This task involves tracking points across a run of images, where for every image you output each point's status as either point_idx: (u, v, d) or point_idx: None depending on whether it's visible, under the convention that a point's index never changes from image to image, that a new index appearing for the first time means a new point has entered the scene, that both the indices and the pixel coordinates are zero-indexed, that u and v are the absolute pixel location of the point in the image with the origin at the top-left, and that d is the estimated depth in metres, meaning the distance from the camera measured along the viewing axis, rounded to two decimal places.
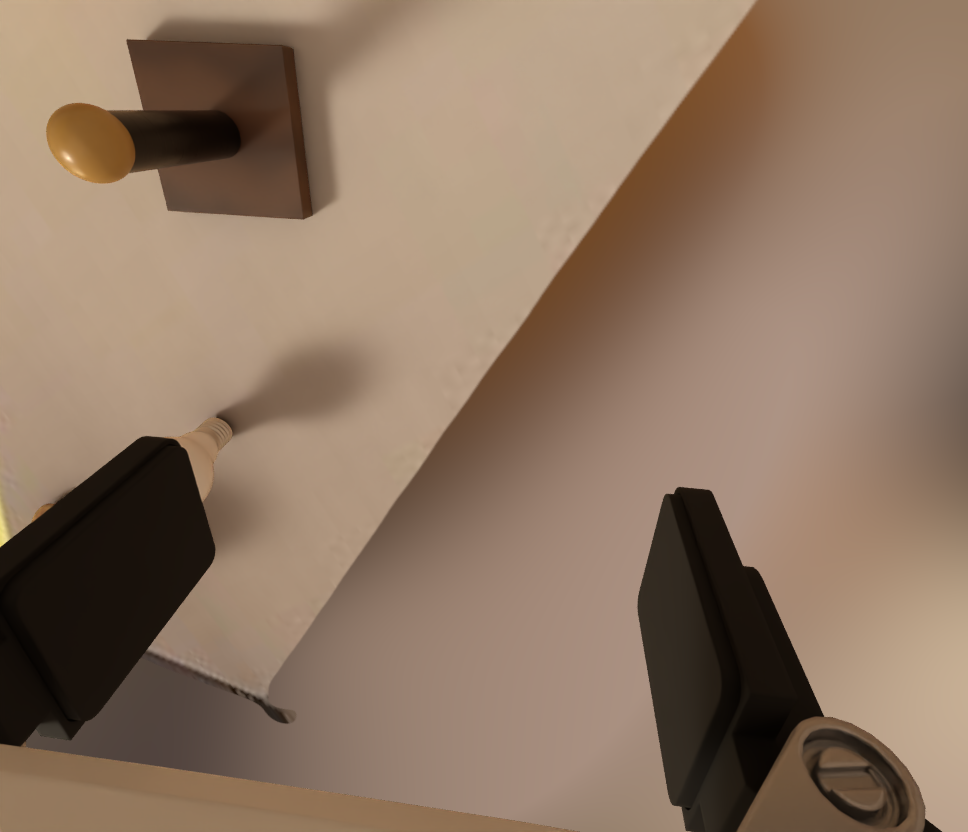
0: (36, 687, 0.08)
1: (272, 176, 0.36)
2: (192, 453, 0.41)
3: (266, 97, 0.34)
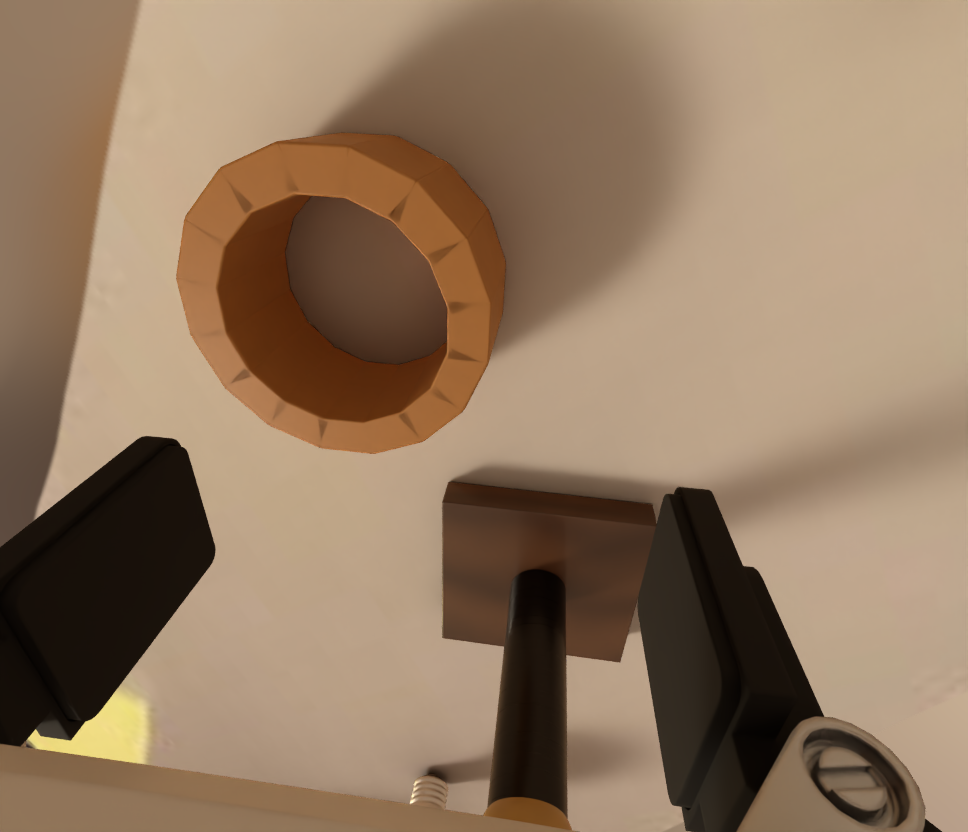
0: (37, 687, 0.08)
1: (594, 626, 0.28)
2: None
3: (615, 565, 0.26)
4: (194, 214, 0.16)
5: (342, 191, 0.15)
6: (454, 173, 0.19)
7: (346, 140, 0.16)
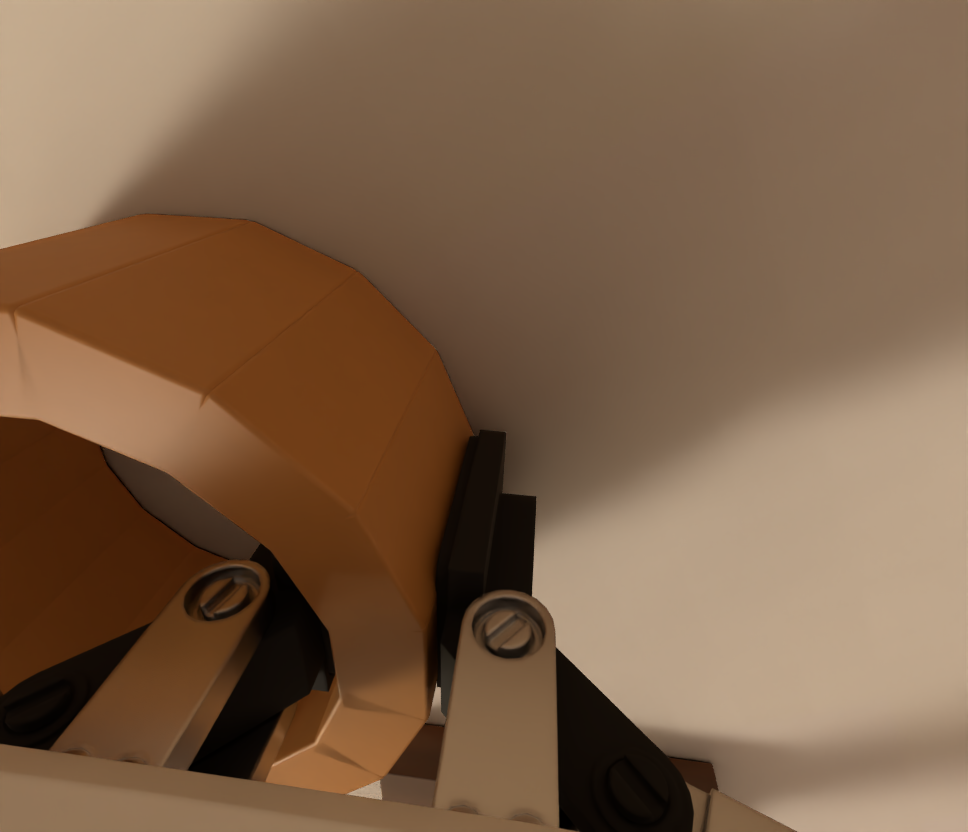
0: (318, 639, 0.08)
1: None
2: None
3: None
4: None
5: (28, 409, 0.06)
6: (366, 293, 0.10)
7: (69, 265, 0.07)
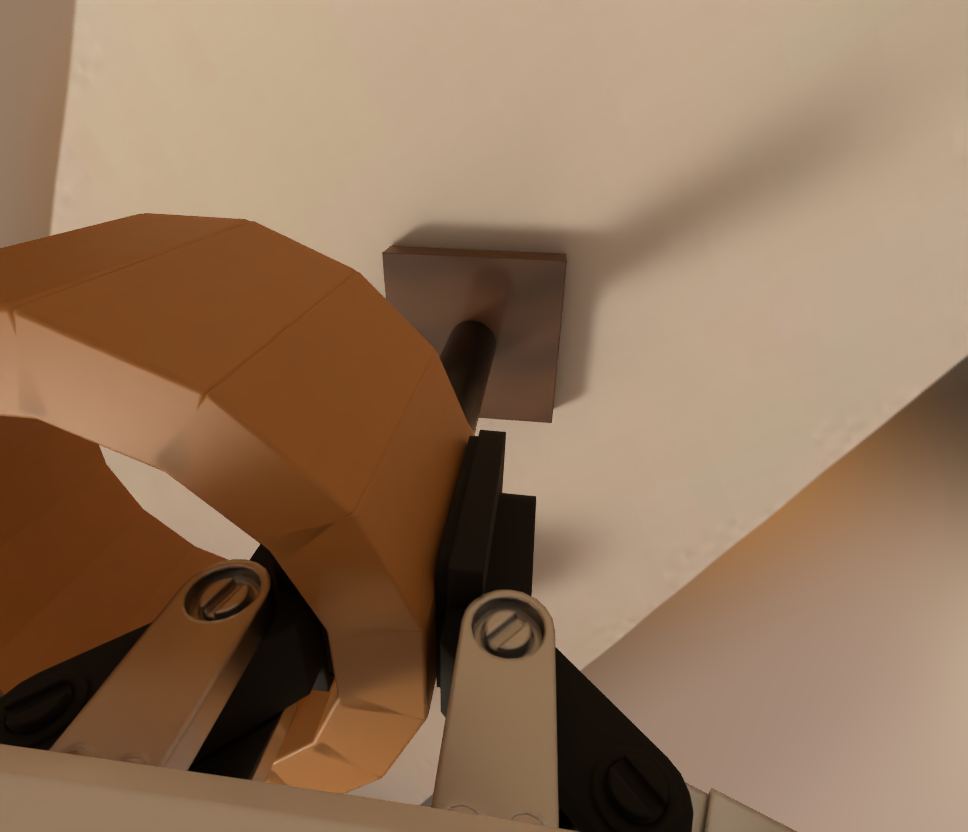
0: (319, 640, 0.08)
1: (525, 382, 0.32)
2: None
3: (535, 309, 0.30)
4: None
5: (27, 408, 0.06)
6: (365, 293, 0.10)
7: (68, 265, 0.07)
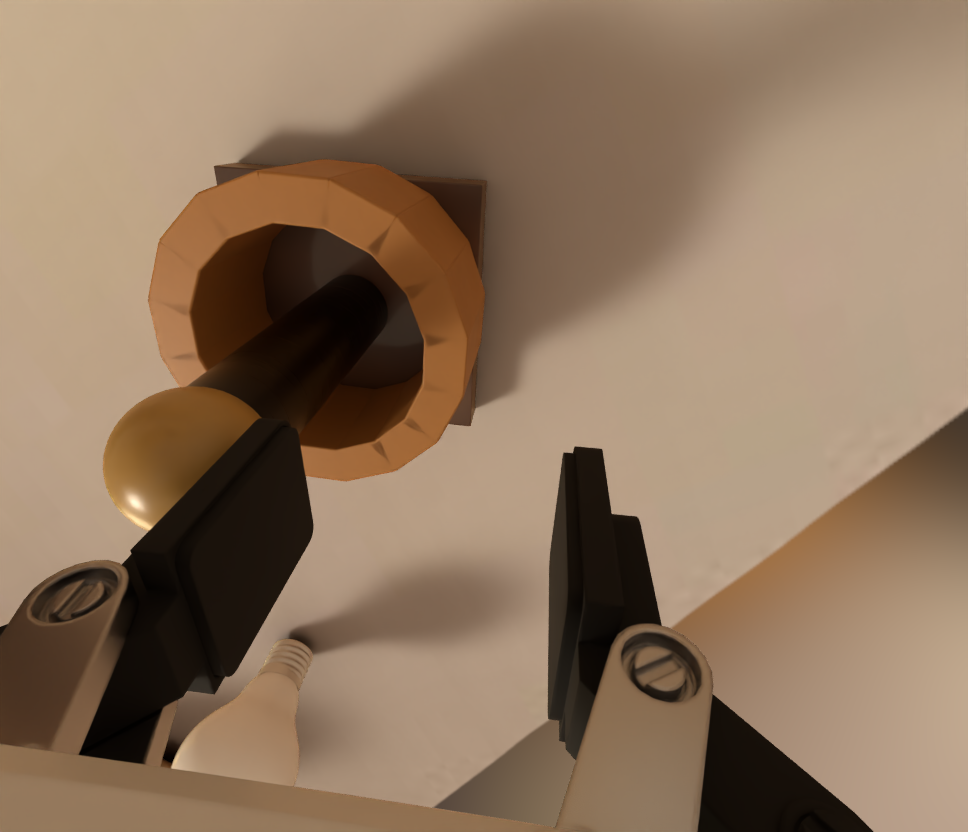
0: (195, 641, 0.08)
1: None
2: (274, 742, 0.28)
3: None
4: (169, 237, 0.16)
5: (321, 222, 0.15)
6: (436, 205, 0.19)
7: (327, 171, 0.16)
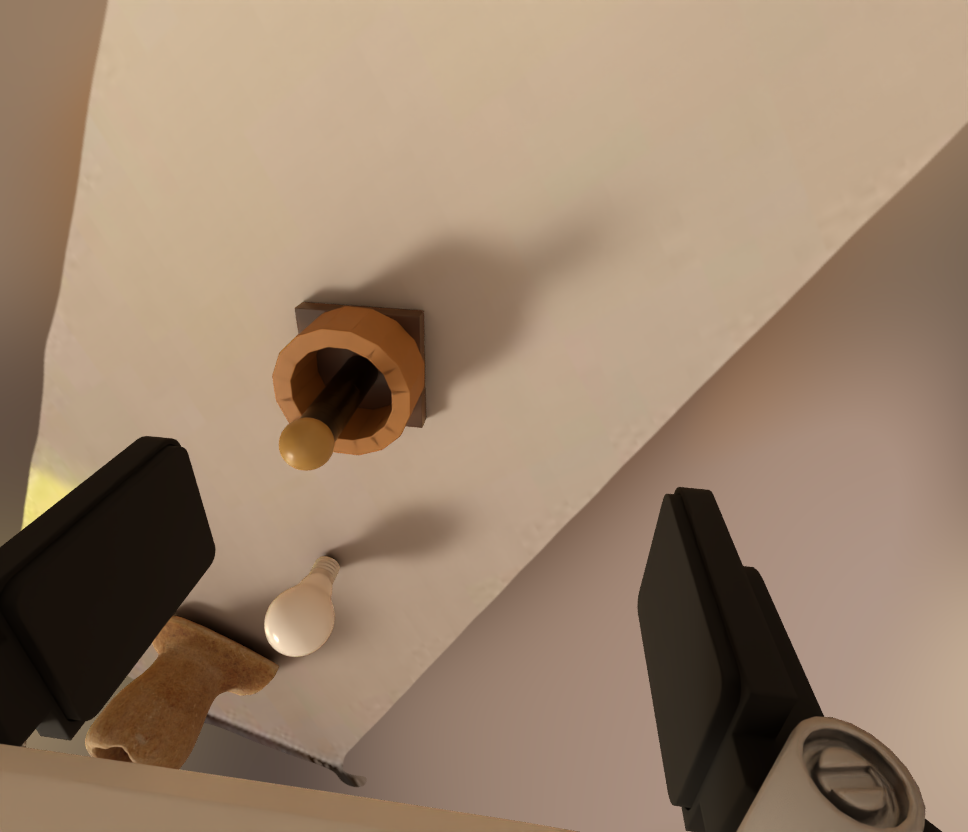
0: (36, 687, 0.08)
1: None
2: (321, 603, 0.50)
3: None
4: (284, 352, 0.38)
5: (347, 347, 0.37)
6: (398, 326, 0.41)
7: (349, 323, 0.38)
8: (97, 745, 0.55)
